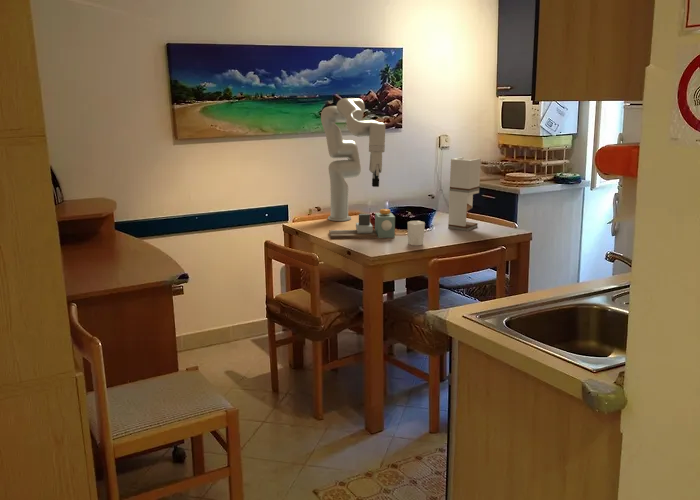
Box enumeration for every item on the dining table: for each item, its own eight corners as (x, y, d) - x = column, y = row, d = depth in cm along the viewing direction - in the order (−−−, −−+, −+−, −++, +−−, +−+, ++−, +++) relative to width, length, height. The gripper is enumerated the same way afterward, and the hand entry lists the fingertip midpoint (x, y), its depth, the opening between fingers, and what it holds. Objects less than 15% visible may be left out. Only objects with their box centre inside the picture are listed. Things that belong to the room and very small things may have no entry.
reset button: (379, 212, 320) (379, 209, 319) (389, 212, 320) (389, 208, 320) (380, 214, 315) (380, 211, 315) (390, 214, 315) (391, 210, 315)
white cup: (410, 246, 298) (411, 224, 296) (404, 242, 306) (405, 221, 303) (426, 245, 300) (427, 223, 298) (420, 241, 308) (421, 220, 305)
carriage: (355, 230, 323) (356, 212, 321) (370, 229, 323) (370, 212, 321) (357, 234, 314) (358, 216, 312) (372, 233, 315) (372, 216, 313)
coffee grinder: (466, 230, 330) (470, 160, 322) (448, 228, 337) (450, 159, 328) (477, 227, 339) (480, 158, 331) (458, 224, 345) (461, 157, 337)
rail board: (329, 233, 323) (329, 228, 323) (373, 232, 326) (373, 227, 325) (330, 238, 312) (330, 233, 311) (377, 238, 314) (377, 232, 313)
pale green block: (374, 232, 325) (375, 212, 323) (390, 232, 326) (391, 212, 323) (378, 238, 314) (378, 217, 312) (394, 237, 315) (395, 217, 312)
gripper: (367, 146, 323) (365, 183, 328) (371, 150, 309) (369, 189, 314) (382, 146, 324) (380, 183, 329) (386, 150, 309) (385, 189, 315)
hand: (375, 186), depth 321 cm, fingers closed
